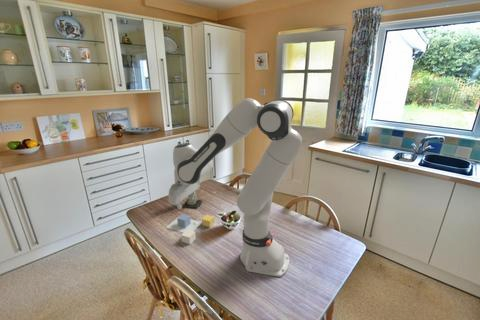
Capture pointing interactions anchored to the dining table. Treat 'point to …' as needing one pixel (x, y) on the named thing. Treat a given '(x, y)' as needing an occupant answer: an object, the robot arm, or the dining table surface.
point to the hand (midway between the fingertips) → (186, 203)
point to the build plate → (175, 226)
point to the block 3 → (208, 221)
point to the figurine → (192, 202)
